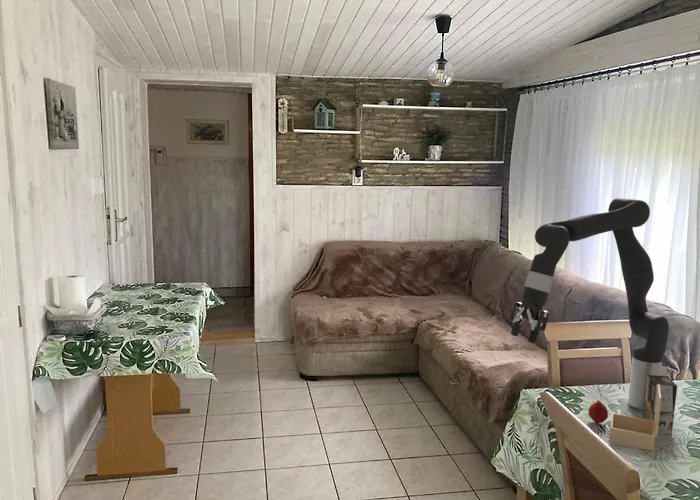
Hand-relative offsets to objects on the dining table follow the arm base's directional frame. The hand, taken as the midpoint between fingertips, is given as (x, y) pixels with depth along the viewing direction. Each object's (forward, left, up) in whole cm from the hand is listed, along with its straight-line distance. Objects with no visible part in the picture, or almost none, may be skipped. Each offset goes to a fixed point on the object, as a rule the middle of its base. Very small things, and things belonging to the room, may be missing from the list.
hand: (522, 339), depth 177 cm
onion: (-18, +23, -30) cm, 42 cm away
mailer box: (-12, +33, -30) cm, 46 cm away
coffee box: (-24, +40, -30) cm, 56 cm away
